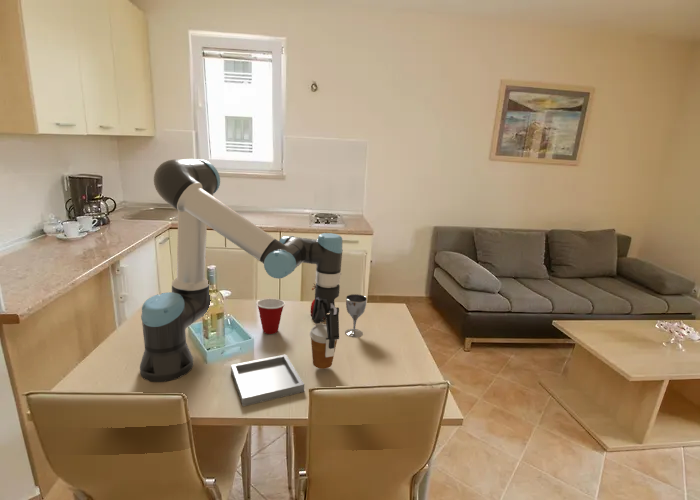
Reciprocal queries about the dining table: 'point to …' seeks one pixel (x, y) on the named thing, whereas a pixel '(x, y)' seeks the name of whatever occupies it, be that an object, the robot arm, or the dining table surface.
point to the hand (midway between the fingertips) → (323, 348)
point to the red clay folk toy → (313, 304)
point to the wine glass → (355, 312)
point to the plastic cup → (270, 314)
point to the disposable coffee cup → (320, 347)
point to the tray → (266, 379)
